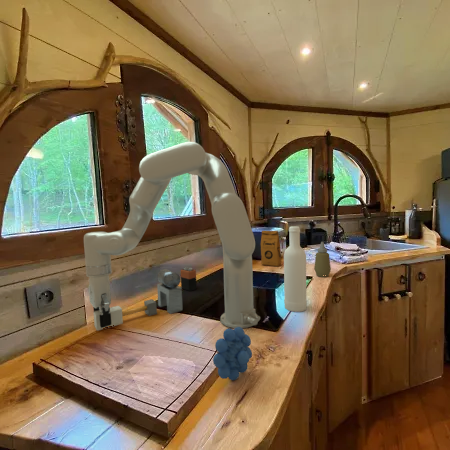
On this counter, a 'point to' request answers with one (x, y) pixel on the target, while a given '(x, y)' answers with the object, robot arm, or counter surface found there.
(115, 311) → the white mallet
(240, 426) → the counter surface
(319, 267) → the squeeze bottle
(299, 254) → the bottle
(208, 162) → the robot arm
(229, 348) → the grapes
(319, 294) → the counter surface
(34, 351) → the counter surface
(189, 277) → the battery
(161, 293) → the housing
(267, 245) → the coffee package
